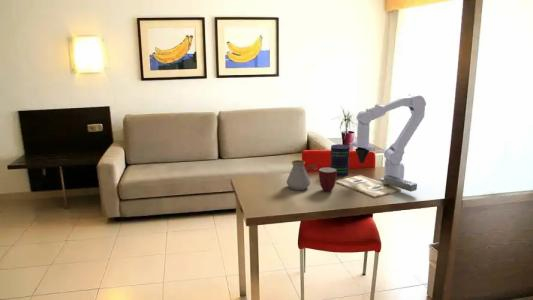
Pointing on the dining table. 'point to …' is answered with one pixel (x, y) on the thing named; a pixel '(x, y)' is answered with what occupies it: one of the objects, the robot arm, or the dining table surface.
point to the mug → (327, 178)
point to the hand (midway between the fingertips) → (361, 162)
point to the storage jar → (340, 159)
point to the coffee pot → (299, 176)
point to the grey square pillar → (399, 183)
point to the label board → (368, 186)
